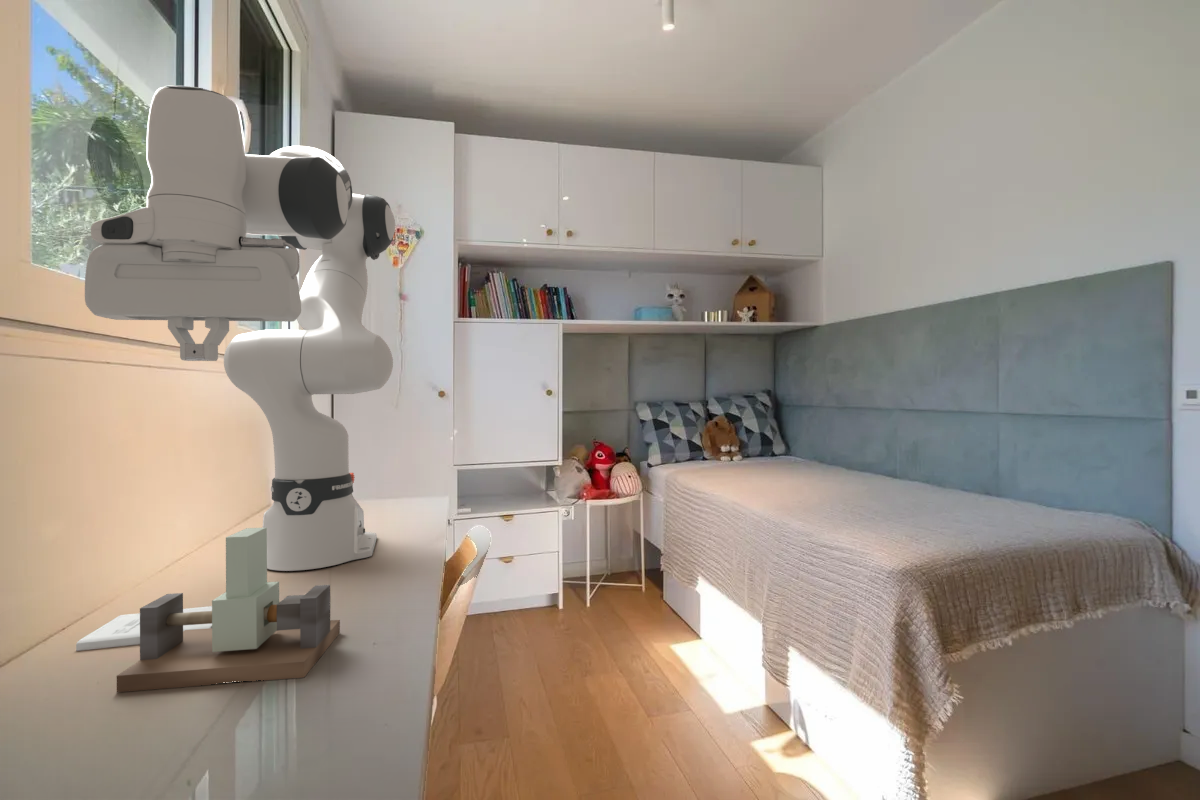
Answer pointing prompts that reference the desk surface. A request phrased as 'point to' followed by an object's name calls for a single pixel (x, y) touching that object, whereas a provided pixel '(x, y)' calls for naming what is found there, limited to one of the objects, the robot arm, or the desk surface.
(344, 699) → the desk surface
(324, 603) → the rod rail stand
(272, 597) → the mint green stepped block
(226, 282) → the robot arm
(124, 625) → the external hard drive
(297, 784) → the desk surface
